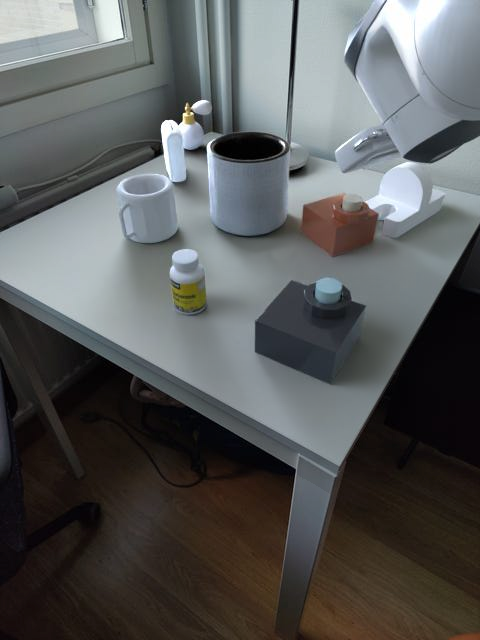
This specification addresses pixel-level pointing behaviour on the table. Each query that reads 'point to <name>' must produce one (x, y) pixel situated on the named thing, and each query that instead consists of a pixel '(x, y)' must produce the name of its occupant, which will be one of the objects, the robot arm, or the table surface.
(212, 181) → the planter
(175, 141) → the white rounded-top slab
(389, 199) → the tape dispenser
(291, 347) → the grey push button box
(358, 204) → the round white push button
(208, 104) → the perfume bottle
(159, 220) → the mug
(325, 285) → the light blue push button
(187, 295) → the supplement bottle
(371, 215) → the orange push button block
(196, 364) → the table surface
